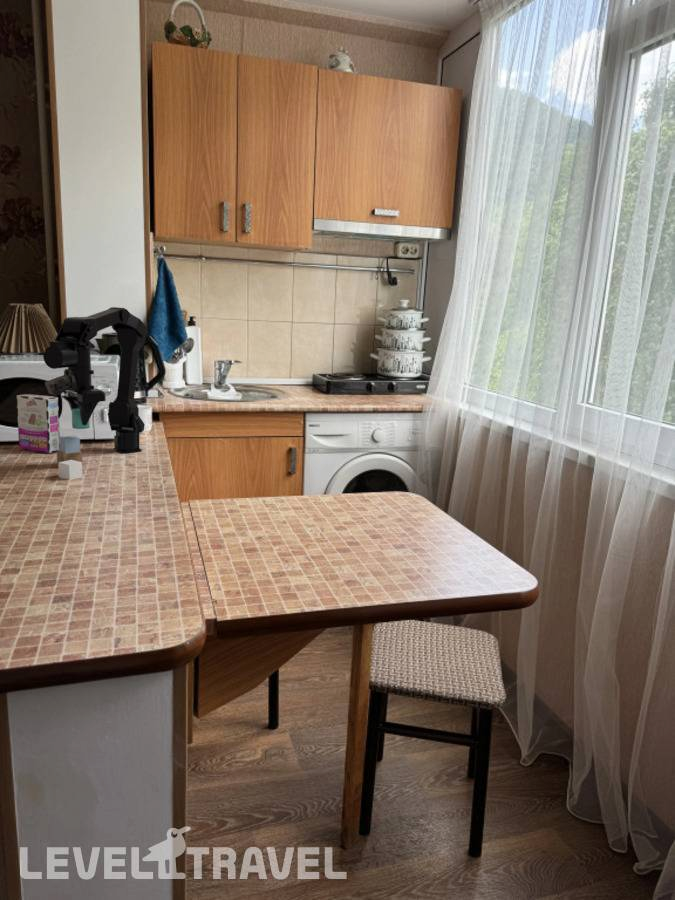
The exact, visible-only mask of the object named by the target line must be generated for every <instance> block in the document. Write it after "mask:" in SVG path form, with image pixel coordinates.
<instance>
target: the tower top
mask: <svg viewBox="0 0 675 900" xmlns="http://www.w3.org/2000/svg"><path fill="white" fill-rule="evenodd" d="M59 443H60V451H61V452H63V453H65V454H68V453H77V452H80V451H81V438H80V437H78V436H76V435H73V434H72V435H63V436H62V435H61V436H60V437H59Z"/></svg>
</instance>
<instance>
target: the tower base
mask: <svg viewBox="0 0 675 900" xmlns="http://www.w3.org/2000/svg"><path fill="white" fill-rule="evenodd" d="M68 460H75V461H79V462H82V463H83V452H82V451H81V450H80V452H77V453H68V454H65V453H63V452H61V451H60V450H58V451H57V452H56V461H57V462H56V463H57V465H58V463H59V462H63V461H68ZM82 467H83V464H82Z"/></svg>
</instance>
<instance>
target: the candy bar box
mask: <svg viewBox="0 0 675 900" xmlns="http://www.w3.org/2000/svg"><path fill="white" fill-rule="evenodd" d="M59 406H60V405H59V397H58V396H51V395H40V394H31V393H25V394H19V395H17V394H16V408H17V412H16V413H17V428H18V429H17V430H18V449H19V450H21V451H27V452H28V451H29V452H36V453H43V454H44V453H45V454H53V453H57V451H58V450H60V443H59V437H61V436H60V435H61V434H60V412H59V411H60V410H59V408H60V407H59Z"/></svg>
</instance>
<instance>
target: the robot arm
mask: <svg viewBox="0 0 675 900" xmlns="http://www.w3.org/2000/svg"><path fill="white" fill-rule="evenodd" d="M110 327H111V328H112V330H113V331H114V332H115V333H116V341H117V343H118V345H119V347H120V360H119V363H120V364H119V371H118V382H117V392H116V398H115V399H114V400H113V401H110V402H109V404H108V411H107V412H108V413H107V419H108V423H109V426H110V430H111V431H112V432H113V431H115V435H114V437H113V438H114V439H113V440H114V441H113V446H114V447H113V450H115V451H116V452H118V453H121V454H127V453H128V454H129V453H137V452H143V449H142V448H140V433H143V432H144V431H145V427H146V426H145V422H144V421H143V419H142V418H141V416H140V415H139V414H140V413H139V412H140V411H139V409H140V408H139V406H138V403H137V402H136V401H135V394H136V392H135V391H136V383H137V373H138V362H139V352H140V350H141V349H142V348H143V347H144V345H145V344H146V340H147V336H148V327H147V325H146V324H145V322H143V321H142V319H141V318H139V317H137V316H135V315H134V314H132V313H130V311H129V310H128V309H127V308H125V307H114V306H112V307H109V308H108V309H105V310H103V311H99V312H97V313H96V312H95V313H93V314H90V315H88V316H73V317H72V316H71V317H68V316H67V317H66V318H64V319H63V322H62V324H61V326H60V328H59V331H58V333H57V335H56V337H55V339H54V340H50V341H49V346H48V347H47V348H46V349H45V350H44V352H43V357H42V358H43V360H44V363H45V365H46V366H47V367H48V368H50V369H53V370H54V369H64V370H63V375H61V376H60V375H59V376H57V377H55V378H52V379H49V380H47V381H45V382H44V385H45V387H46V389H47V392H48V394H49V395H53V397H56V396H59V395H61V398H62V399H64V400H65V401H66V402H67V403H68V405H69V407H70V411H71V412H72V409H73V408H79V409H80V415H81V421H82V425H87V423H88V421H90V419H91V417H92V415H93V413H94V410H95V409H96V408H97V405H98V404H99V403H100V402H106V401H107V400H106V399H107V398H106V397H107V396H106V393H105V392H104V391H103V390H101V389H98V388H95V385H93V384H92V375H94V373H95V370H93V369H92V367H91V365H92V364H91V363H92V361H91V360H92V359H91V349H95V348H96V345H95V344H94V343H92V342H91V340H93V339H94V338H95V337H97V336H98V333H99V332H100V331H102V330H104V329H107V328H110ZM62 394H63V395H62Z"/></svg>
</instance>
